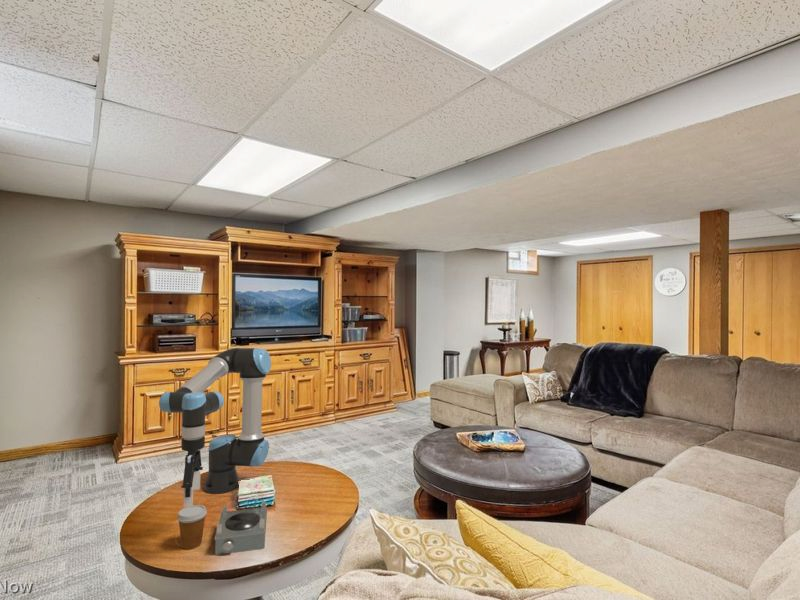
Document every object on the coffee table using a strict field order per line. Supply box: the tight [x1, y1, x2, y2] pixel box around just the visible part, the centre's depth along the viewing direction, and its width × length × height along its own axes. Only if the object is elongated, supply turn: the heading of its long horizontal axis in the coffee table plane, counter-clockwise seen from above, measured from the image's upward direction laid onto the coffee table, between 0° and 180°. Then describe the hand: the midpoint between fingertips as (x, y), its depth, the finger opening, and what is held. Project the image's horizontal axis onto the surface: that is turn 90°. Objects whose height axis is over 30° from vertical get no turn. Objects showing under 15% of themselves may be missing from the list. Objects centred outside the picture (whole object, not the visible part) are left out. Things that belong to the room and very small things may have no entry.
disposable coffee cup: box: [176, 504, 208, 550], centre depth 152 cm, size 10×10×12 cm
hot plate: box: [214, 501, 268, 556], centre depth 156 cm, size 20×17×9 cm
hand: (192, 497), depth 152 cm, fingers open, 13 cm apart
